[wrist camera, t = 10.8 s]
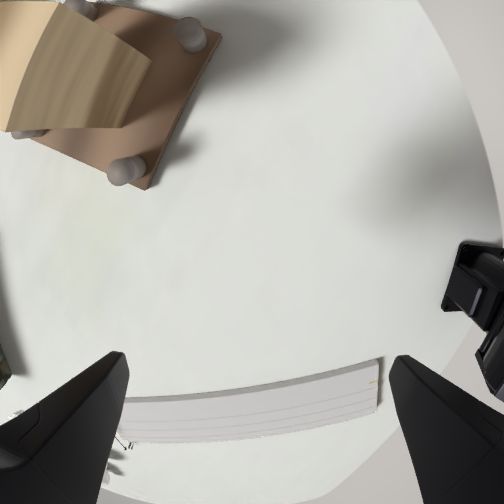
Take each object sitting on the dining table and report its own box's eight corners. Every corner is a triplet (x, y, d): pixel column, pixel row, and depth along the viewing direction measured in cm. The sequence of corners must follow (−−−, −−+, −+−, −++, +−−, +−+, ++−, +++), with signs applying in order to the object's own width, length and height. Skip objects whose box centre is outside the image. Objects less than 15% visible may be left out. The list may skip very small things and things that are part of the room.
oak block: (152, 60, 16) (59, 2, 6) (120, 128, 17) (5, 132, 7) (95, 45, 15) (-9, 1, 5) (67, 107, 17) (-50, 107, 6)
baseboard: (372, 414, 29) (373, 353, 26) (378, 432, 27) (383, 373, 23) (135, 442, 32) (96, 393, 29) (130, 458, 29) (88, 410, 26)
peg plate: (222, 37, 16) (215, 18, 13) (148, 188, 20) (128, 199, 16) (90, 4, 14) (68, -11, 11) (32, 136, 18) (4, 139, 15)
